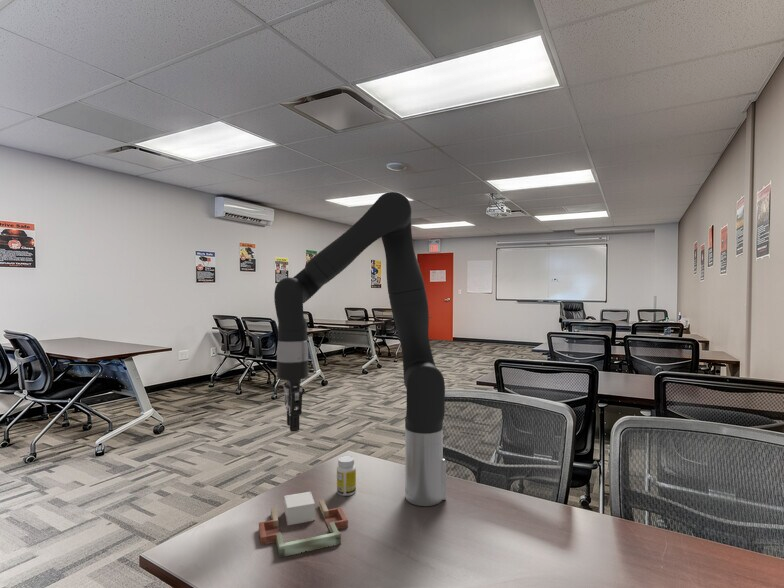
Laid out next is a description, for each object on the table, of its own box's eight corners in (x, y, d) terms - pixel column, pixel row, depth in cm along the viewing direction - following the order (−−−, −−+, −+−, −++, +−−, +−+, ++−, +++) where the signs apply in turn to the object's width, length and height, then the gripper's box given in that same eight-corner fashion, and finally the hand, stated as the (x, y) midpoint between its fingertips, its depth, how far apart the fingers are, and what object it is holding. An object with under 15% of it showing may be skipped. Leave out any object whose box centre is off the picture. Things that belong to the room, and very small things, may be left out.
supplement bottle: (357, 488, 111) (357, 455, 111) (354, 496, 106) (353, 462, 106) (339, 487, 111) (339, 455, 111) (335, 496, 107) (334, 462, 107)
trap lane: (335, 502, 103) (335, 494, 103) (355, 540, 87) (355, 531, 87) (256, 517, 97) (256, 508, 97) (263, 561, 81) (263, 550, 81)
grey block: (310, 508, 101) (310, 491, 101) (314, 521, 95) (314, 503, 95) (284, 513, 99) (284, 495, 99) (287, 526, 93) (287, 507, 93)
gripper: (313, 362, 101) (313, 434, 101) (303, 354, 114) (303, 418, 114) (280, 364, 98) (280, 439, 98) (273, 355, 111) (274, 421, 111)
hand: (293, 427), depth 106 cm, fingers open, 4 cm apart
